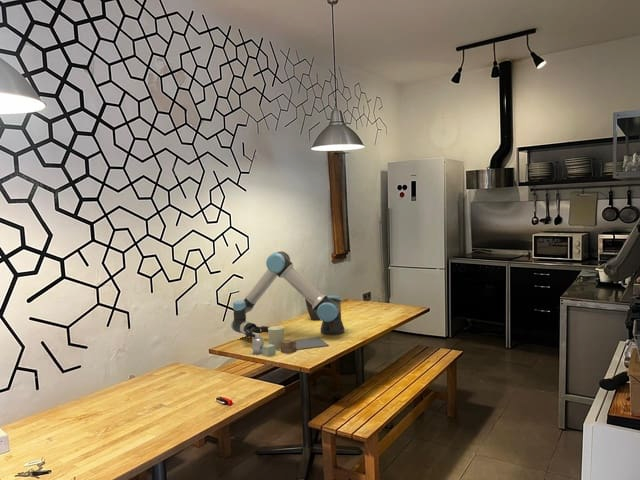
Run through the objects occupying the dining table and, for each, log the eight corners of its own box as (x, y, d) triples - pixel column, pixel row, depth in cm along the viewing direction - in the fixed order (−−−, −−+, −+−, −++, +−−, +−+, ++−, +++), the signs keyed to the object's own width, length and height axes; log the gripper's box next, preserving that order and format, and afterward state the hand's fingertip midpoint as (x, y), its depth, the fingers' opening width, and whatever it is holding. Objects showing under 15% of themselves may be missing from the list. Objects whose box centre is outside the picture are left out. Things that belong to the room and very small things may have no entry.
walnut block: (289, 349, 262) (289, 339, 262) (296, 351, 258) (296, 340, 258) (281, 352, 258) (280, 341, 258) (287, 354, 254) (287, 343, 254)
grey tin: (262, 350, 262) (262, 336, 261) (264, 353, 256) (264, 339, 256) (252, 352, 260) (251, 337, 260) (253, 355, 254) (253, 340, 254)
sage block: (270, 352, 258) (269, 343, 257) (275, 354, 254) (275, 345, 254) (262, 355, 254) (262, 345, 254) (267, 356, 250) (267, 347, 250)
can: (282, 350, 261) (281, 329, 260) (266, 350, 263) (265, 328, 262) (286, 345, 270) (285, 325, 269) (271, 345, 272) (270, 325, 271)
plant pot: (326, 321, 329) (325, 298, 328) (305, 322, 329) (304, 299, 328) (326, 316, 344) (325, 295, 343) (306, 317, 344) (305, 295, 343)
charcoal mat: (318, 337, 285) (318, 336, 285) (328, 346, 266) (328, 345, 266) (286, 341, 279) (286, 340, 279) (294, 350, 260) (294, 349, 260)
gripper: (266, 330, 295) (286, 336, 279) (231, 339, 278) (251, 345, 262) (265, 319, 294) (286, 323, 279) (230, 326, 278) (250, 332, 262)
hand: (269, 334), depth 270 cm, fingers open, 13 cm apart
